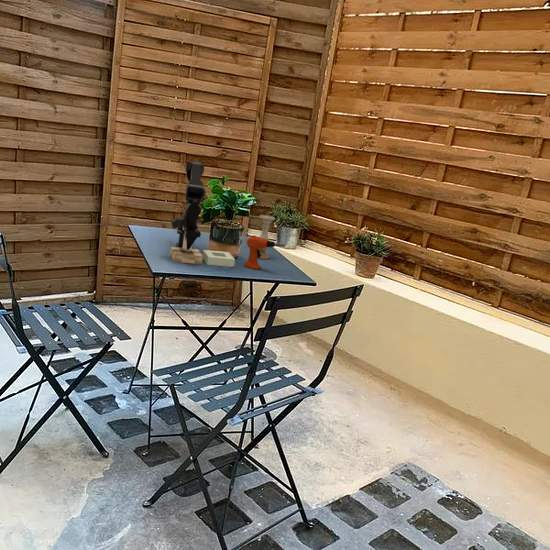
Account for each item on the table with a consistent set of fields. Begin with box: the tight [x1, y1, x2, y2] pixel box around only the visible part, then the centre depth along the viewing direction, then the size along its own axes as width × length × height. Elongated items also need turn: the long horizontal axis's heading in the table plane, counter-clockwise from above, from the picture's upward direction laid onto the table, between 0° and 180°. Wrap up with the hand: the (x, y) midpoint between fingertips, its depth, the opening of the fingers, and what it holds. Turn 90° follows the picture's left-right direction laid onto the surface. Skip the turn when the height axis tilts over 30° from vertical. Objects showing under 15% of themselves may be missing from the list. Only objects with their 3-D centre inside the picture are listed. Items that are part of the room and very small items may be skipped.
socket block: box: [169, 246, 203, 265], centre depth 238 cm, size 12×12×4 cm
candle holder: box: [258, 214, 276, 260], centre depth 265 cm, size 9×9×20 cm
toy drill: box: [243, 235, 286, 270], centre depth 241 cm, size 5×19×15 cm, turn 67°
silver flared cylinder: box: [182, 235, 193, 253], centre depth 237 cm, size 4×4×11 cm
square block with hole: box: [201, 249, 236, 268], centre depth 243 cm, size 12×12×4 cm
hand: (187, 248), depth 237 cm, fingers closed on silver flared cylinder, 4 cm apart
